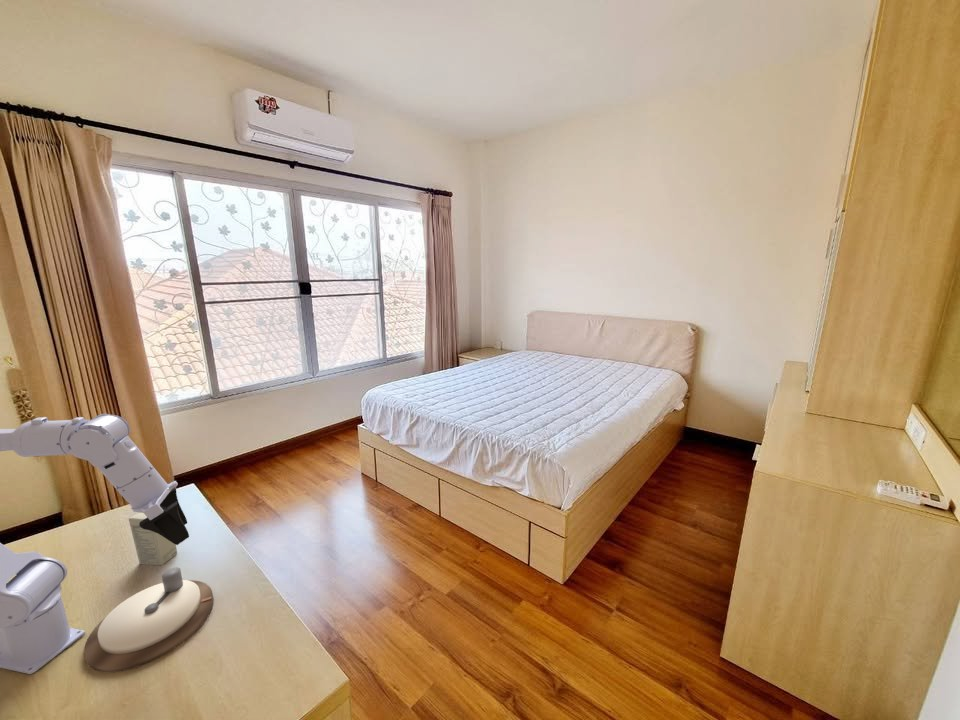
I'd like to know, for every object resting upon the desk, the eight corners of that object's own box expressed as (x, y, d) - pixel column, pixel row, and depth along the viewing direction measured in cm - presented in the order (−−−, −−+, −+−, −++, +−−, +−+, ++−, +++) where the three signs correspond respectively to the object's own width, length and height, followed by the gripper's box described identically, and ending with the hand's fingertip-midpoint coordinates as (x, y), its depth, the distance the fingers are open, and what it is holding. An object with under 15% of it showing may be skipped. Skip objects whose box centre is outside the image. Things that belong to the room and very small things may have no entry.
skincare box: (178, 553, 93) (170, 508, 91) (162, 566, 89) (153, 519, 86) (154, 551, 94) (145, 506, 91) (137, 564, 90) (127, 517, 87)
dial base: (54, 662, 67) (53, 655, 66) (160, 579, 85) (159, 574, 85) (146, 681, 64) (145, 674, 63) (235, 591, 82) (234, 585, 82)
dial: (160, 653, 67) (155, 629, 66) (74, 654, 67) (68, 629, 66) (217, 586, 81) (214, 565, 80) (147, 586, 81) (142, 565, 80)
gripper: (160, 471, 64) (208, 530, 69) (160, 455, 76) (202, 506, 80) (109, 500, 61) (163, 561, 65) (118, 478, 72) (164, 531, 76)
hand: (182, 533), depth 72 cm, fingers open, 7 cm apart
